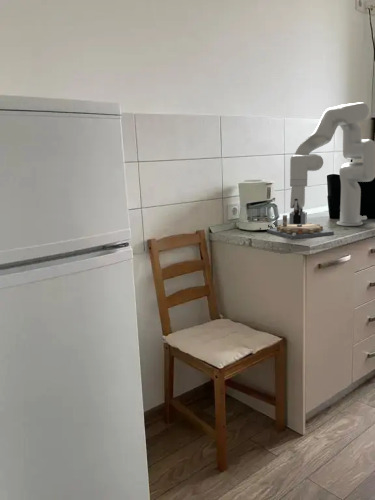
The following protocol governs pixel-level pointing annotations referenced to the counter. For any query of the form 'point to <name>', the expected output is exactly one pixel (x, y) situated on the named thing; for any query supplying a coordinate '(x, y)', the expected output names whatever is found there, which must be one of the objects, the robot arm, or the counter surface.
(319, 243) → the counter surface
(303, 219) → the grey block
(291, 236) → the sprocket base
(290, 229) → the sprocket disc
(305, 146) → the robot arm
